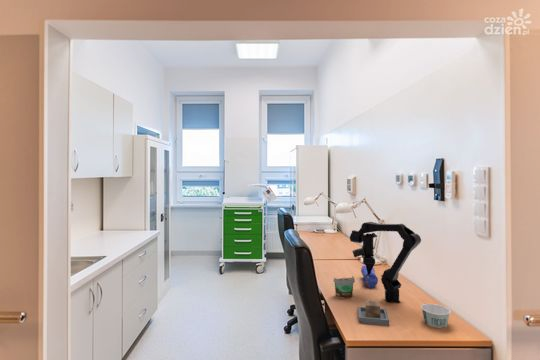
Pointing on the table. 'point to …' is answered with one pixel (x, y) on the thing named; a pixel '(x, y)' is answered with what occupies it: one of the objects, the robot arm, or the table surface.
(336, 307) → the table surface
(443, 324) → the food container
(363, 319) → the tray
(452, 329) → the table surface
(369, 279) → the pencil case
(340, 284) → the food container
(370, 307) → the cube
